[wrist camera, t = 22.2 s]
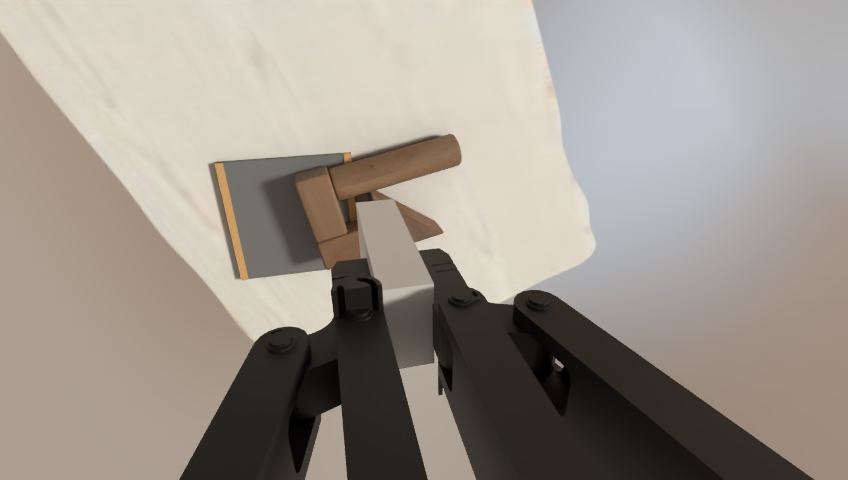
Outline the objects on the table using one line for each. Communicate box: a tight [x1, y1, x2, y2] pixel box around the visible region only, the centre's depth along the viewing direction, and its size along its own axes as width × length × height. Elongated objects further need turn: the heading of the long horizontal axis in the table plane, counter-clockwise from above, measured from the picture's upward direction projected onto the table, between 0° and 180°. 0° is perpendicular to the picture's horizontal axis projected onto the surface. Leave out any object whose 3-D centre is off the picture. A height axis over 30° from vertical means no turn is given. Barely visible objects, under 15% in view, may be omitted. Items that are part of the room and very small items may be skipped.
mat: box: [215, 152, 357, 280], centre depth 50 cm, size 14×14×1 cm
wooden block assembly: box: [295, 134, 461, 270], centre depth 49 cm, size 4×11×18 cm
